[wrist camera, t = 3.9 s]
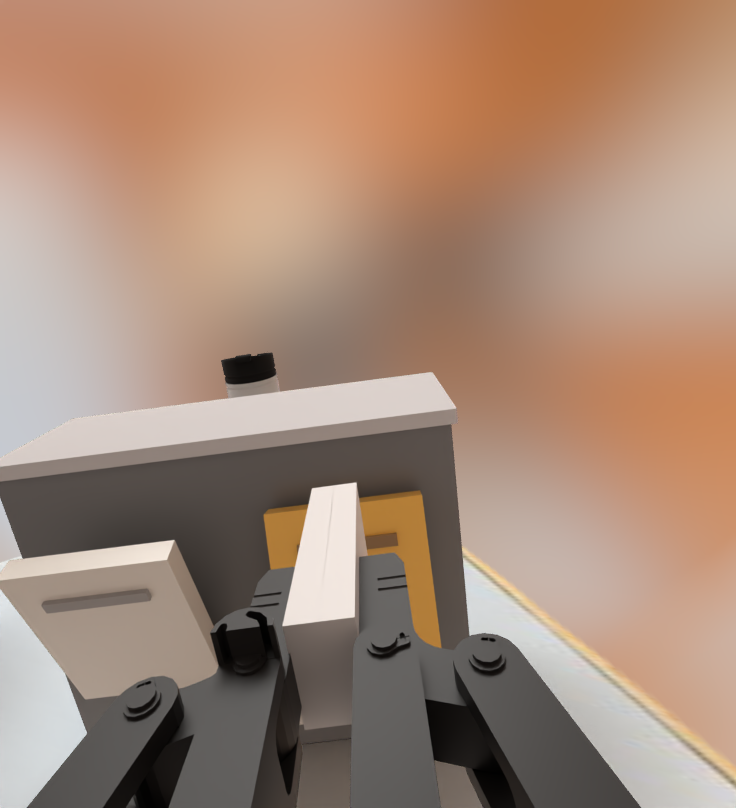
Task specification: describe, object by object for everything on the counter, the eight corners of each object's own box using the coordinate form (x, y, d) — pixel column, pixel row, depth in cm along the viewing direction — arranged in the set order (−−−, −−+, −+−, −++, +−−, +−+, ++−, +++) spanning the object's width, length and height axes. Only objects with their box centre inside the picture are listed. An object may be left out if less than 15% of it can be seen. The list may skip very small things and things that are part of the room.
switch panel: (483, 729, 30) (457, 408, 25) (92, 774, 31) (-23, 470, 25) (456, 628, 39) (432, 372, 33) (148, 665, 39) (72, 418, 33)
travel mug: (248, 516, 61) (214, 360, 56) (254, 493, 68) (224, 351, 62) (298, 508, 62) (269, 352, 56) (299, 486, 68) (273, 343, 63)
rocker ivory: (224, 687, 27) (165, 564, 22) (83, 704, 27) (-10, 585, 22) (229, 662, 28) (174, 539, 23) (94, 678, 29) (9, 560, 23)
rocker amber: (447, 695, 24) (422, 495, 24) (288, 713, 25) (262, 515, 24) (443, 678, 26) (419, 490, 26) (293, 695, 26) (268, 509, 26)
